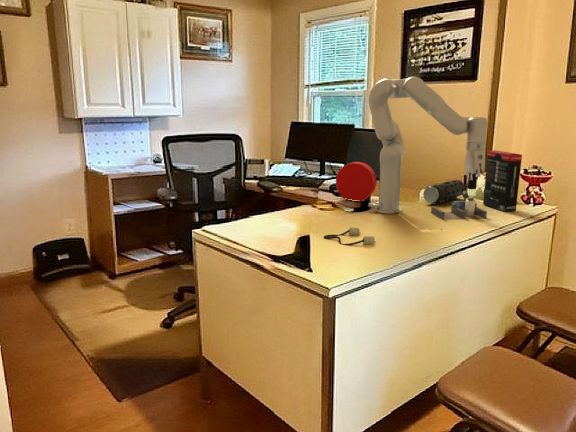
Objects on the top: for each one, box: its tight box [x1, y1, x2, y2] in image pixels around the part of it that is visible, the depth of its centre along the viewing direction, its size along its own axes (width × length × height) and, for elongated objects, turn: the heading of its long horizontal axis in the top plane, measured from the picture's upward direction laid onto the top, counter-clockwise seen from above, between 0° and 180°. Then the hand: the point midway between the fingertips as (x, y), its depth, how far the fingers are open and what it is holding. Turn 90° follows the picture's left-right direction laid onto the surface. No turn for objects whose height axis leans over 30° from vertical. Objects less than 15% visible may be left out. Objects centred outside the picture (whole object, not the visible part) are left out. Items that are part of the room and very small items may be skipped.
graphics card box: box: [482, 150, 523, 213], centre depth 227 cm, size 17×7×27 cm, turn 14°
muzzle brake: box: [423, 179, 466, 205], centre depth 244 cm, size 10×28×10 cm, turn 135°
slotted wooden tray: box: [430, 200, 488, 221], centre depth 211 cm, size 20×14×6 cm
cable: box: [323, 226, 376, 246], centre depth 177 cm, size 16×16×4 cm
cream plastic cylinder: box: [465, 197, 476, 217], centre depth 209 cm, size 4×4×8 cm
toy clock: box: [335, 161, 377, 202], centre depth 245 cm, size 20×6×20 cm, turn 66°
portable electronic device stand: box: [462, 190, 470, 201], centre depth 227 cm, size 9×8×8 cm
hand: (471, 188), depth 208 cm, fingers closed
